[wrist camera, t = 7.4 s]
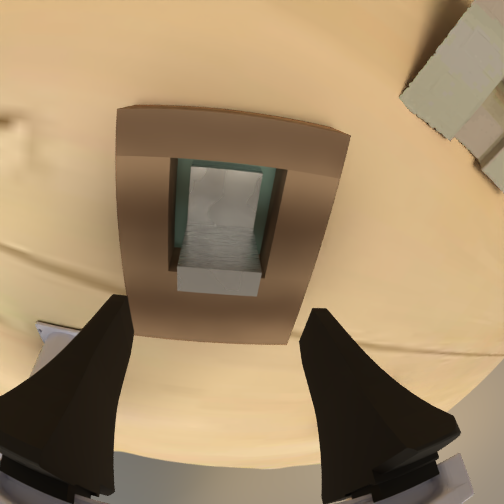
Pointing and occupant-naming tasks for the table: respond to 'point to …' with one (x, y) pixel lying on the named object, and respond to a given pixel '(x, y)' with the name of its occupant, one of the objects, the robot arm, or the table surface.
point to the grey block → (221, 230)
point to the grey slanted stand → (467, 86)
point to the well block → (265, 226)
